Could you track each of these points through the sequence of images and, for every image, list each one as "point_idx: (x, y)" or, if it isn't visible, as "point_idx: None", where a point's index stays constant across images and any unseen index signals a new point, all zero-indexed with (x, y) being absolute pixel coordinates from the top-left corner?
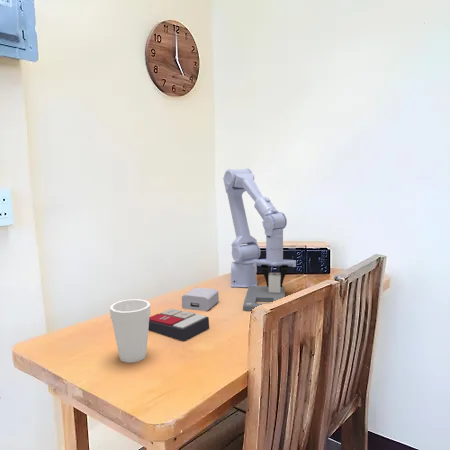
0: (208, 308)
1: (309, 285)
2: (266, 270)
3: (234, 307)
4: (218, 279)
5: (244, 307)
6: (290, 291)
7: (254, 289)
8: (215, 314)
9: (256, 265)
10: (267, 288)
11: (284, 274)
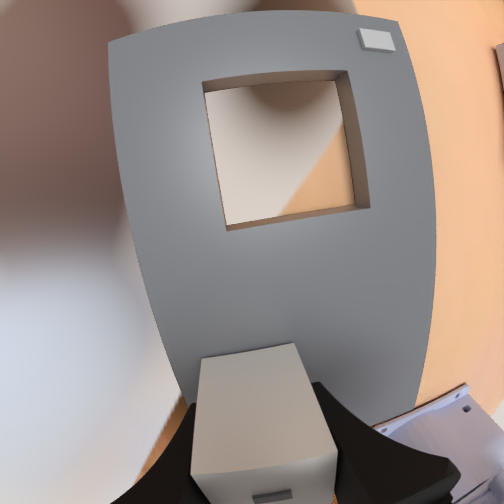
0: (500, 46)
1: None
2: (390, 486)
3: (438, 84)
4: None
5: (385, 23)
6: None
7: (391, 370)
8: (458, 9)
9: (496, 481)
10: None
11: (141, 487)
